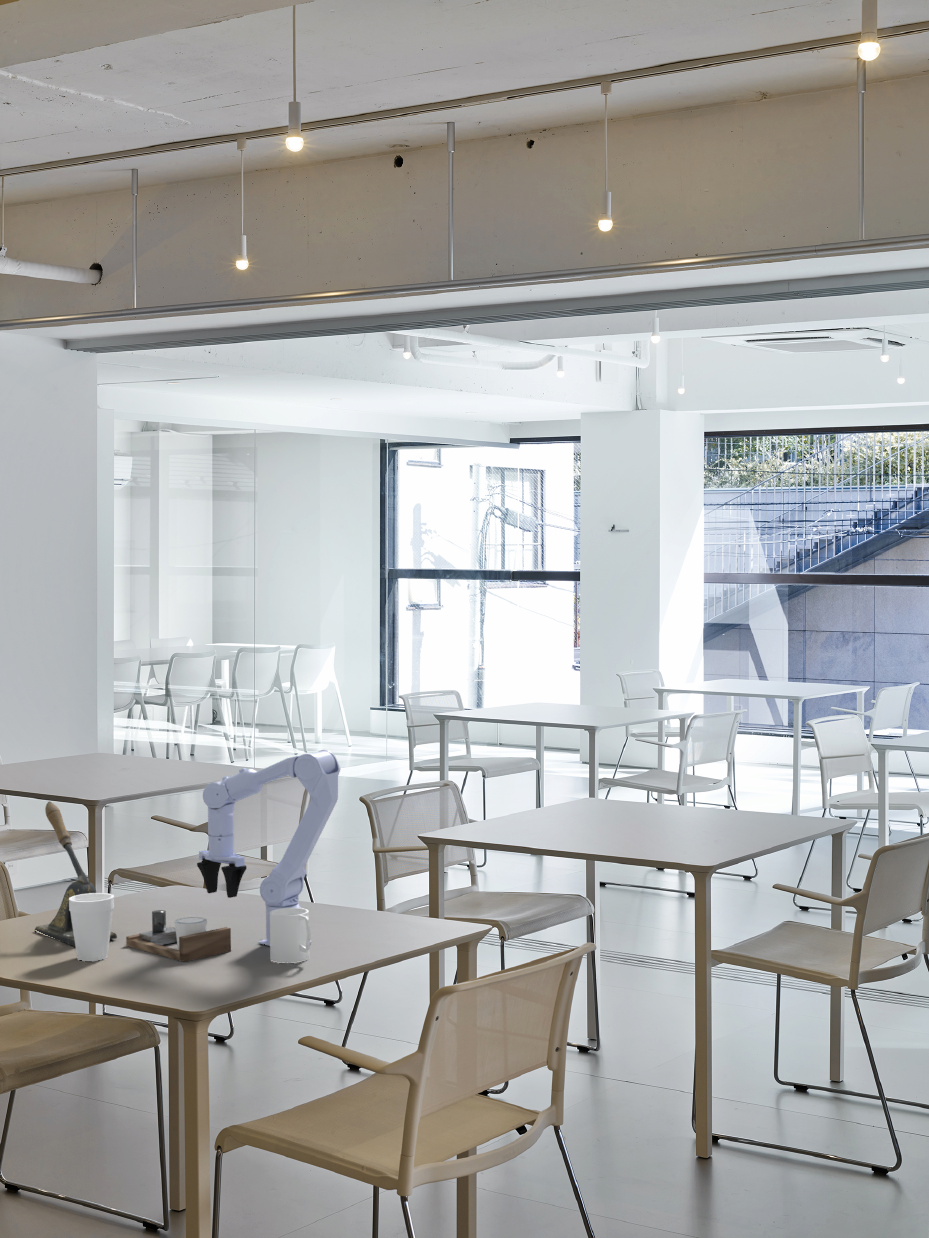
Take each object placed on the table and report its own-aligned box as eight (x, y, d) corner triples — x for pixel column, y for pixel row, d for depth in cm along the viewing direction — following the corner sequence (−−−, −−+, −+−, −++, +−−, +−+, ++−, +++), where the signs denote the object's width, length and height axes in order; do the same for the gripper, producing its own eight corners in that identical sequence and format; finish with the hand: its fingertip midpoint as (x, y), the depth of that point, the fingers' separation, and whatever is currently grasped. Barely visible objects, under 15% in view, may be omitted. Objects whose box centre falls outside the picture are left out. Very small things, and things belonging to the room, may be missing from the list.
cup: (293, 969, 289) (292, 920, 289) (263, 958, 298) (262, 911, 298) (326, 962, 294) (326, 914, 294) (295, 952, 303) (295, 905, 303)
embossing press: (72, 949, 310) (69, 813, 310) (31, 931, 328) (29, 802, 328) (118, 941, 317) (116, 808, 316) (76, 923, 335) (73, 798, 335)
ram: (182, 940, 314) (181, 910, 314) (150, 947, 309) (150, 916, 309) (170, 937, 318) (170, 907, 317) (139, 944, 312) (139, 913, 312)
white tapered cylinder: (200, 956, 301) (199, 923, 301) (170, 955, 302) (169, 922, 302) (212, 948, 308) (211, 916, 308) (182, 947, 309) (182, 915, 309)
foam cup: (74, 965, 295) (73, 903, 295) (65, 956, 303) (64, 895, 303) (119, 959, 299) (119, 898, 299) (109, 950, 307) (108, 891, 307)
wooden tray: (230, 950, 305) (230, 928, 305) (183, 961, 296) (183, 938, 296) (172, 935, 320) (172, 913, 320) (126, 945, 312) (125, 923, 312)
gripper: (187, 833, 319) (188, 893, 319) (225, 840, 309) (226, 901, 309) (213, 829, 324) (214, 888, 324) (251, 836, 314) (252, 896, 314)
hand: (222, 894), depth 317 cm, fingers open, 7 cm apart
